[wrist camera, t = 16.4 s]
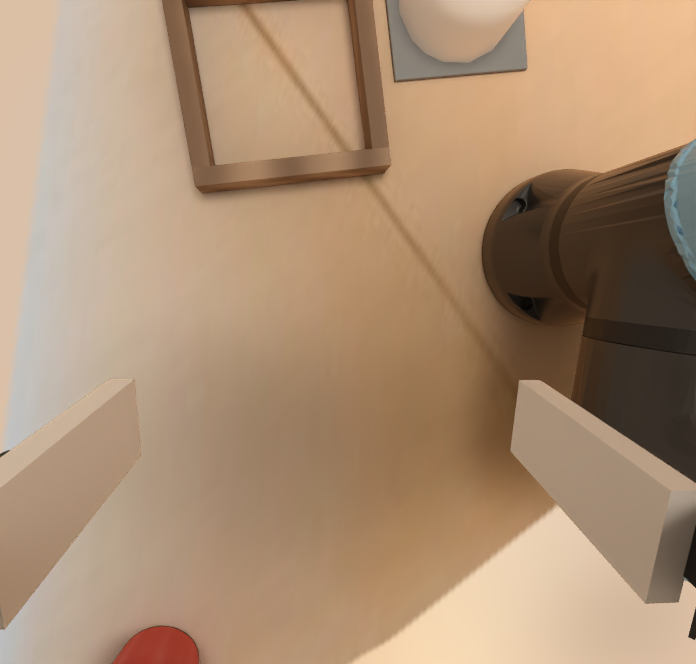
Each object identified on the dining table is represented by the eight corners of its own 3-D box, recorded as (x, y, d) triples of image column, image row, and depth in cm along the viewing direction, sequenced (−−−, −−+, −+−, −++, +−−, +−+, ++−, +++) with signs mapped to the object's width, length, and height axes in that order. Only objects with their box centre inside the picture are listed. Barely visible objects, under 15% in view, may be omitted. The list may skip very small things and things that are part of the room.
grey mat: (514, -81, 39) (517, -84, 39) (525, 70, 41) (527, 68, 41) (377, -74, 38) (378, -78, 38) (394, 81, 40) (395, 80, 39)
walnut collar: (361, -23, 38) (366, -48, 35) (384, 172, 41) (391, 164, 38) (166, -11, 37) (155, -36, 34) (202, 193, 39) (195, 186, 36)
